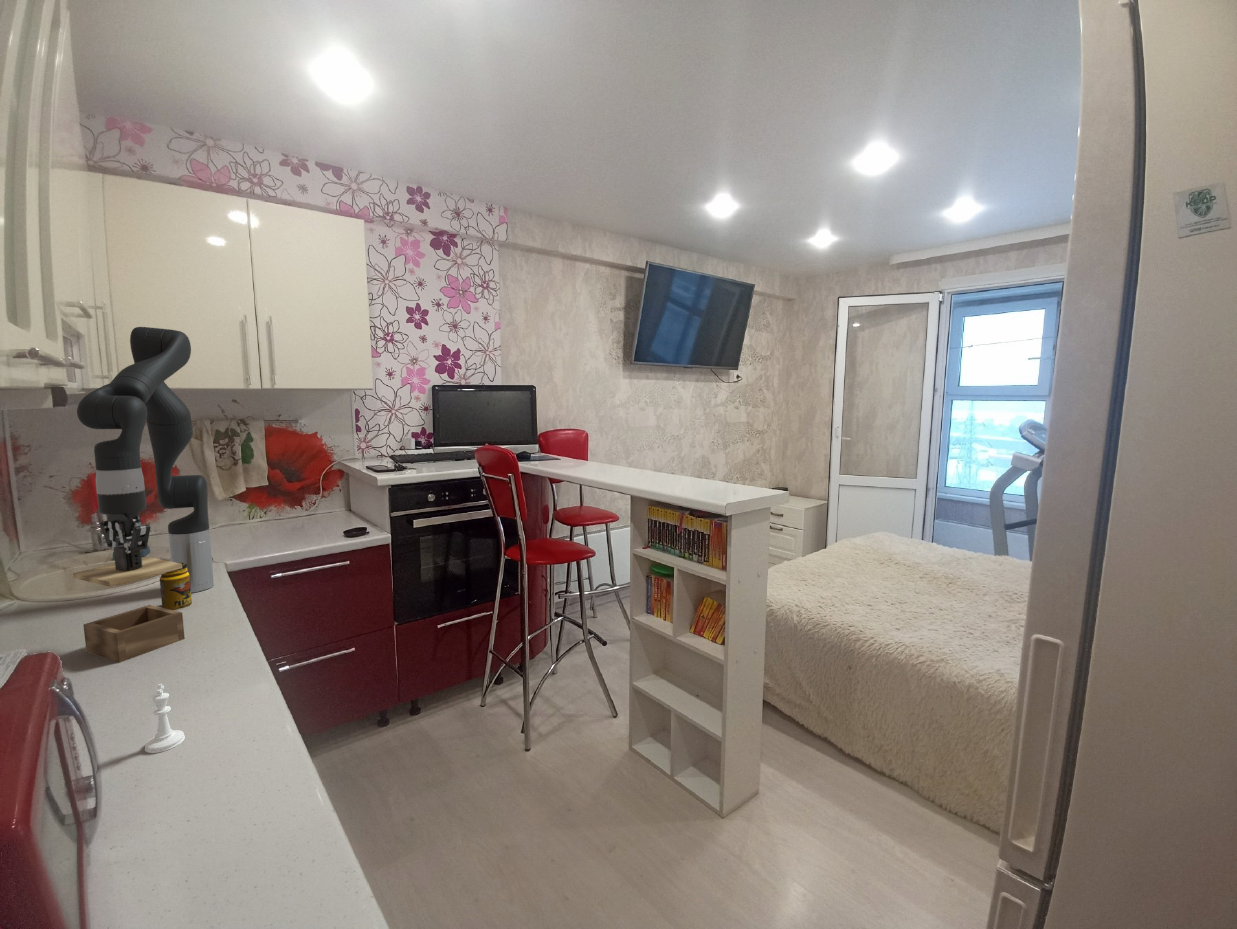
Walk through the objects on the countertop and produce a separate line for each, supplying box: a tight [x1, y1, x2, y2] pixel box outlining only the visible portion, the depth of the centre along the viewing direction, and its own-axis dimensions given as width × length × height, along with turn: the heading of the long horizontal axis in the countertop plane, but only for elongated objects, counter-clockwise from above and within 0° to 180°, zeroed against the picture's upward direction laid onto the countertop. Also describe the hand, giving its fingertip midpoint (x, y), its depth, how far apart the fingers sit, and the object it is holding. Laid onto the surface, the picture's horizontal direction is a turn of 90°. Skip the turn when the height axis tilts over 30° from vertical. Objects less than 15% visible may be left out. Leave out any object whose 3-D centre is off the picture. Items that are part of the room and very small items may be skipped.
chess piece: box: [144, 683, 186, 754], centre depth 85 cm, size 5×5×10 cm
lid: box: [72, 543, 182, 587], centre depth 115 cm, size 13×13×7 cm
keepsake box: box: [83, 604, 186, 664], centre depth 117 cm, size 12×12×7 cm
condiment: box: [159, 562, 193, 611], centre depth 139 cm, size 7×8×12 cm
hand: (129, 567), depth 115 cm, fingers closed on lid, 3 cm apart
